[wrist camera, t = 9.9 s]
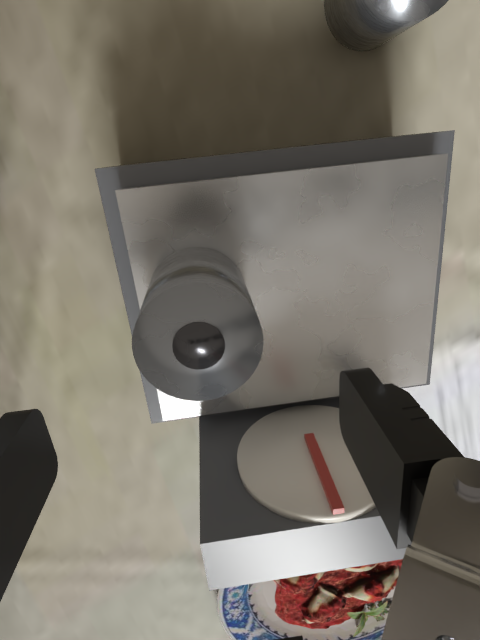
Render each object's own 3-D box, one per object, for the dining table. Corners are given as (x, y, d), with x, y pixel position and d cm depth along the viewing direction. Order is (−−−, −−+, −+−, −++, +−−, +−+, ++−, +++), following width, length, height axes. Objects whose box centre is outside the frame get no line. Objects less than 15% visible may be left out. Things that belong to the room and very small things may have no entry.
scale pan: (439, 153, 20) (448, 153, 19) (419, 377, 25) (426, 383, 24) (118, 188, 19) (115, 190, 19) (164, 412, 24) (163, 420, 24)
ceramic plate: (177, 532, 39) (176, 560, 36) (433, 444, 38) (452, 467, 35) (260, 671, 49) (264, 702, 46) (464, 605, 48) (480, 632, 45)
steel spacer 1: (241, 240, 20) (258, 275, 14) (250, 331, 22) (268, 392, 16) (140, 253, 20) (118, 293, 14) (158, 343, 22) (145, 409, 16)
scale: (392, 136, 27) (632, 113, 12) (382, 371, 34) (525, 539, 19) (120, 165, 26) (17, 179, 11) (167, 400, 33) (142, 601, 18)
